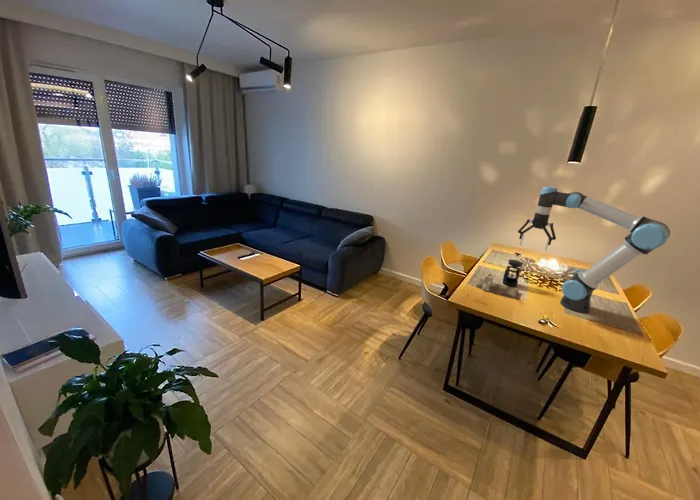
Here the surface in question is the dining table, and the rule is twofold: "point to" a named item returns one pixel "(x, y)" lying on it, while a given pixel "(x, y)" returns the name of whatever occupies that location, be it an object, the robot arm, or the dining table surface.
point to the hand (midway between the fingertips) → (532, 247)
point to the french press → (511, 278)
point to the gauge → (487, 281)
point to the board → (500, 289)
